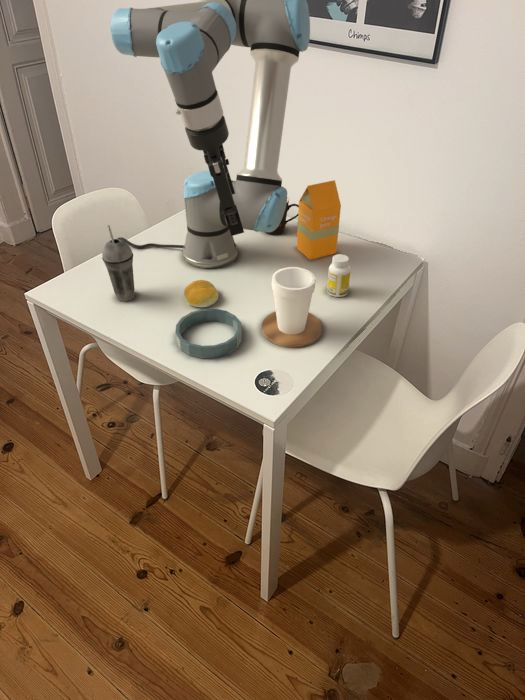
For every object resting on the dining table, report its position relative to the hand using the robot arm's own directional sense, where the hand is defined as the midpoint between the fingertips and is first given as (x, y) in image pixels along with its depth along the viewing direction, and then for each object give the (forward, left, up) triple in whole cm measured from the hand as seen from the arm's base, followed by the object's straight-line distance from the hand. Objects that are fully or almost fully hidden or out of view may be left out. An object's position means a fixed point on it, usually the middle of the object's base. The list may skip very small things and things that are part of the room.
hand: (233, 213), depth 112 cm
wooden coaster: (+15, +3, -25) cm, 29 cm away
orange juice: (-3, +37, -26) cm, 45 cm away
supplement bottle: (+14, +23, -26) cm, 37 cm away
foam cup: (+15, +3, -25) cm, 29 cm away
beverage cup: (-25, -14, -26) cm, 39 cm away
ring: (+3, -12, -25) cm, 28 cm away
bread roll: (-10, -2, -26) cm, 28 cm away
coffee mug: (-19, +39, -26) cm, 51 cm away
